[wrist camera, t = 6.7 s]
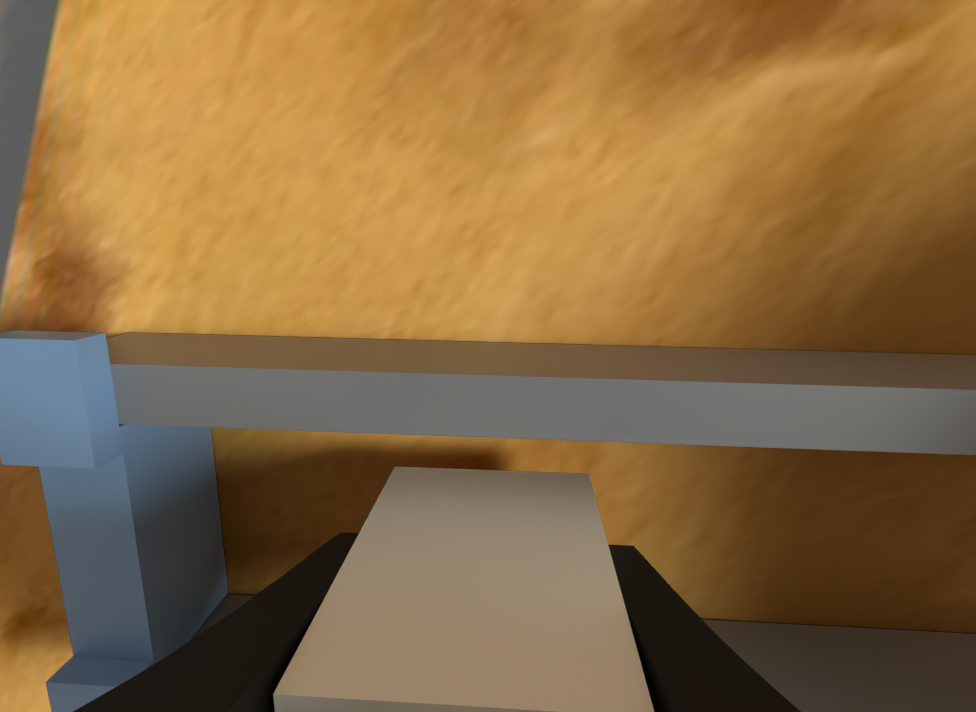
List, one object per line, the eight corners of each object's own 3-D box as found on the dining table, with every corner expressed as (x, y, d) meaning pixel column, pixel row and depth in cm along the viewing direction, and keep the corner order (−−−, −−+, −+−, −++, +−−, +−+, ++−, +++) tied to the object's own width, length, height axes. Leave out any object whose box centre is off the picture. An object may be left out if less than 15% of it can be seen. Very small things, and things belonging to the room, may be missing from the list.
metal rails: (197, 829, 14) (108, 992, 11) (125, 307, 11) (-24, 338, 8) (925, 885, 13) (1046, 1082, 10) (1069, 330, 10) (1307, 374, 7)
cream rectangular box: (398, 609, 11) (295, 931, 6) (394, 466, 10) (272, 694, 5) (580, 618, 10) (631, 959, 6) (588, 473, 10) (655, 717, 5)
